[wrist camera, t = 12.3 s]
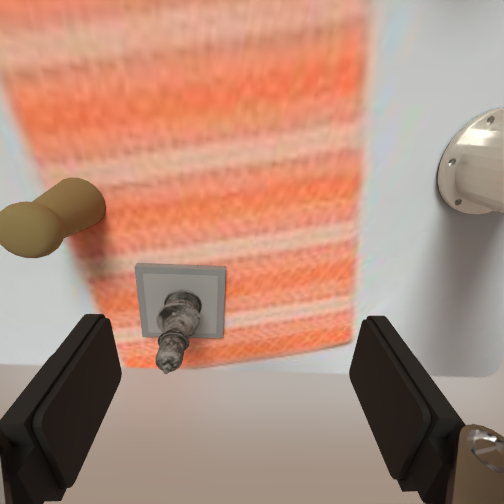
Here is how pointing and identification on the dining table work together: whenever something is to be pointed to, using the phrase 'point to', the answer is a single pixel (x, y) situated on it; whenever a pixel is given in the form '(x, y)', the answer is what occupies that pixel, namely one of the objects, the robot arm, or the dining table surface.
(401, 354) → the robot arm
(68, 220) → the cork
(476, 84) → the dining table surface
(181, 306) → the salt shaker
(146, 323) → the coaster
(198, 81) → the dining table surface
